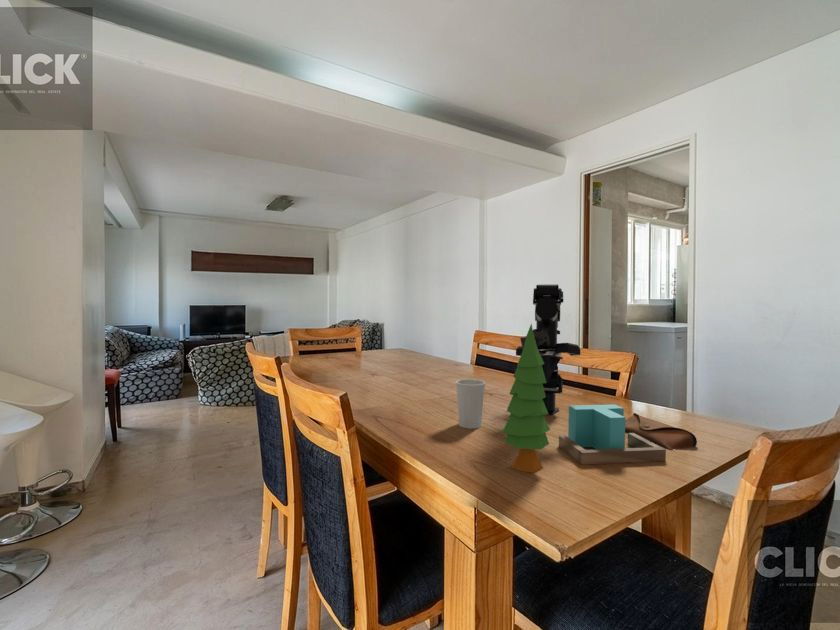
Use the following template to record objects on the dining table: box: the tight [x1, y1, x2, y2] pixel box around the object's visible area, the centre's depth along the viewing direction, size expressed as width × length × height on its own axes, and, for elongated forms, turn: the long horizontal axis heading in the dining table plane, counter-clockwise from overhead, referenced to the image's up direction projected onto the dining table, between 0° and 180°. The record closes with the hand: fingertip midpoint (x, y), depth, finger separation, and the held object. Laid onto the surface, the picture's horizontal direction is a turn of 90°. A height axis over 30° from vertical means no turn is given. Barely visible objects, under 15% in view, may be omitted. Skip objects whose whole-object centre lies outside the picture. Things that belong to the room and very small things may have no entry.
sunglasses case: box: [625, 412, 698, 451], centre depth 101 cm, size 18×7×7 cm, turn 20°
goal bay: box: [558, 433, 667, 466], centre depth 90 cm, size 11×19×2 cm, turn 96°
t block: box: [567, 403, 626, 450], centre depth 92 cm, size 10×12×9 cm
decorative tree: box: [502, 323, 551, 473], centre depth 82 cm, size 10×9×30 cm
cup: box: [455, 378, 486, 430], centre depth 109 cm, size 8×8×12 cm
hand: (545, 381), depth 110 cm, fingers closed
